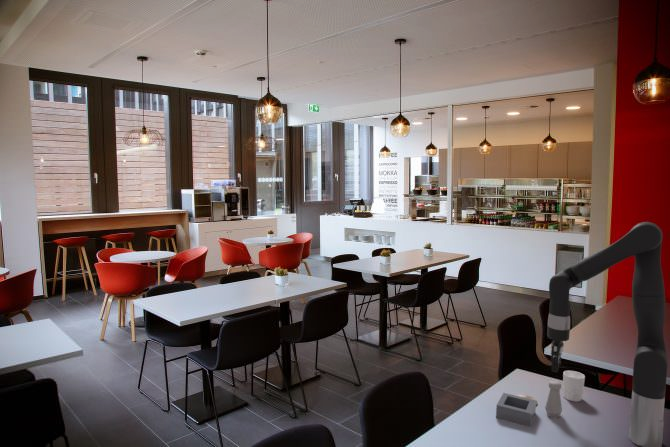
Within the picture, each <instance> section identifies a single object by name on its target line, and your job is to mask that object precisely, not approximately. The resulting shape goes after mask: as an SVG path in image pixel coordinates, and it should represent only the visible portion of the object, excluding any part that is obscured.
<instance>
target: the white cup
mask: <svg viewBox="0 0 670 447" xmlns="http://www.w3.org/2000/svg"><path fill="white" fill-rule="evenodd" d="M562 373H563V374H562V377H563V378H562V386H563V387H562V389H563V390H562V391H563V398H564V399H566V400H568V401H571V402H576V403H577V402H581V401H582V400H583V395H584V394H583V393H584V387H585V380H586V376H585V374H583V373H581V372H579V371H575V370H564V371H563V372H562Z"/></svg>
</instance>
